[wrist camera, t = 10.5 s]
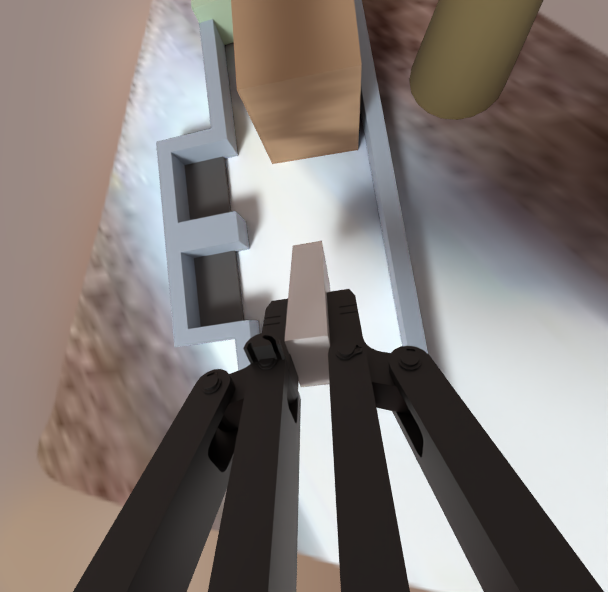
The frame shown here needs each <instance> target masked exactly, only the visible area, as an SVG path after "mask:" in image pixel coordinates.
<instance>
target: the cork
mask: <svg viewBox="0 0 608 592" xmlns="http://www.w3.org/2000/svg"><path fill="white" fill-rule="evenodd" d="M542 2H543V0H439V1H438V4H437V6H436V8H435V11H434V13H433V16H432V18H431V21H430V23H429V26H428V28H427V31H426V33H425V36H424V38H423V41H422V43H421V46H420V48H419V51H418V53H417V56H416V58H415V61H414V63H413V66H412V69H411V75H410V86H411V93H412V95H413V96H414V98H415V100H416V101H417V103H418V105H420V106H421V107H422V108H423V109H424V110H426V111H427V112H428V113H430V114H432V115H435V116H437V117H440V118H444V119H456V120H458V119H463V118H468V117H473V116H475V115H477V114H479V113H481V112H483V111H485V110H486V109H487V108H489V107H490V106H491V105H492V104H493V103H494V102H495V101H496V100H497V99H498V97H499V95H500V94H501V92H502V90H503V88H504V86H505V84H506V82H507V80H508V78H509V75H510V73H511V71H512V69H513V66H514V64H515V62H516V60H517V58H518V55H519V53H520V51H521V49H522V47H523V44H524V42H525V40H526V38H527V35H528V33H529V31H530V29H531V27H532V24H533V22H534V20H535V18H536V15H537V13H538V11H539V9H540V6H541V4H542Z"/></svg>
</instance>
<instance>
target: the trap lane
mask: <svg viewBox="0 0 608 592" xmlns="http://www.w3.org/2000/svg"><path fill="white" fill-rule="evenodd" d="M354 3H355V12H356V20H357V29H358V38H359V46H360V55H361V63H362V68H361V92H360V111H361V117H362V122H363V128H364V134H365V139H366V145H367V151H368V156H369V162H370V167H371V173H372V179H373V184H374V190H375V196H376V201H377V207H378V212H379V218H380V224H381V229H382V235H383V240H384V246H385V252H386V257H387V263H388V269H389V274H390V280H391V285H392V291H393V297H394V302H395V308H396V314H397V319H398V325H399V330H400V336H401V342H402V346H415V347H418V348H420V349H422V350H424V351H425V352H426V353H427V354H428V351H427V345H426V340H425V335H424V329H423V324H422V319H421V313H420V308H419V303H418V297H417V292H416V287H415V281H414V276H413V271H412V265H411V260H410V255H409V249H408V244H407V239H406V233H405V228H404V223H403V217H402V212H401V207H400V201H399V196H398V191H397V185H396V180H395V175H394V169H393V164H392V159H391V153H390V148H389V143H388V137H387V132H386V127H385V121H384V116H383V111H382V105H381V100H380V95H379V89H378V84H377V79H376V73H375V68H374V62H373V57H372V52H371V46H370V41H369V36H368V30H367V25H366V20H365V14H364V9H363V4H362V0H354ZM191 6H192V10H193V12H194V14H195V16H196V18H197V20H198V22H199V26H200V35H201V44H202V53H203V61H204V70H205V79H206V88H207V97H208V105H209V114H210V123H211V128H210V129H206V130H202V131H198V132H194V133H190V134H186V135H182V136H178V137H174V138H170V139H166V140H162V141H157V142H156V145H157V156H158V167H159V178H160V190H161V201H162V212H163V223H164V234H165V245H166V257H167V268H168V279H169V290H170V301H171V312H172V324H173V335H174V346H175V347H181V346H189V345H196V344H203V343H210V342H217V341H224V340H231V339H235V344H236V353H237V361H238V370H241V369H243V368H245V367H247V366H248V365H250V362H249V360H248V358H247V356H246V353H245V351H244V349H243V348H244V346H245V344H246V342H247V341H248V340H249V339H250V338H252V337H253V336H255V335H257V334H260V330H259V322H258V320H245V321H244V316H243V308H242V299H241V291H240V282H239V274H238V265H237V257H236V251H242V250H247V249H249V241H248V233H247V225H246V221H245V220H244V219H243V218H242V217H241V216H240V215H239V214H238V213H237V212H236V211H233V212H231V206H230V197H229V189H228V180H227V172H226V163H225V158H229V157H234V156H238V152H237V143H236V135H235V127H234V119H233V111H232V103H231V95H230V87H229V79H228V70H227V62H226V54H225V46H224V45H227V44H230V43H234V39H233V24H232V8H231V0H191Z"/></svg>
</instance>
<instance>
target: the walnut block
mask: <svg viewBox="0 0 608 592" xmlns="http://www.w3.org/2000/svg"><path fill="white" fill-rule="evenodd" d="M231 8H232V24H233V39H234V54H235V69H236V85H237V91H238V93H239V95H240V98H241V100H242V102H243V104H244V106H245V108H246V110H247V112H248V114H249V116H250V118H251V120H252V122H253V125H254V127H255V129H256V131H257V133H258V135H259V137H260V139H261V141H262V143H263V145H264V147H265V149H266V151H267V154H268V156H269V158H270V160H271V162H272V164H276V163H282V162H288V161H294V160H300V159H306V158H312V157H318V156H324V155H330V154H336V153H342V152H348V151H354V150H358V140H359V116H360V92H361V68H362V63H361V55H360V46H359V38H358V29H357V20H356V12H355V3H354V0H231Z"/></svg>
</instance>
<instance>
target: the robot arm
mask: <svg viewBox="0 0 608 592" xmlns="http://www.w3.org/2000/svg"><path fill="white" fill-rule="evenodd" d="M264 318H265V319H264V323H263V329H262V333H260V334H257V335H255V336H253V337H252V338H250V339H249V340H248V341H247V342H246V344H245V346H244V348H243V349H244V351H245V353H246V356H247V358H248V360H249V362H250V365H248V366H247V367H245V368H243V369H241V370H239V371H236V372H234V373H231V374H228V373H227V372H226V371H225V370H222V369H216V370H212V371H209V372H207V373H206V374H204V375H203V376H201V377H200V379H199V380H198V381H197V382H196V384H195V386H194V387H193V389H192V391H191V393H190V394H189V396H188V398H187V399H186V401H185V403H184V404H183V406H182V408H181V410H180V411H179V413H178V415H177V416H176V418H175V420H174V421H173V423H172V425H171V426H170V428H169V430H168V432H167V433H166V435H165V437H164V438H163V440H162V442H161V443H160V445H159V447H158V449H157V450H156V452H155V454H154V455H153V457H152V459H151V460H150V462H149V464H148V465H147V467H146V469H145V471H144V472H143V474H142V476H141V477H140V479H139V481H138V482H137V484H136V486H135V488H134V489H133V491H132V493H131V494H130V496H129V498H128V499H127V501H126V503H125V505H124V506H123V508H122V510H121V511H120V513H119V515H118V516H117V519H116V520H115V522H114V523H113V525H112V527H111V528H110V530H109V532H108V534H107V535H106V537H105V539H104V540H103V542H102V544H101V545H100V547H99V549H98V551H97V552H96V554H95V556H94V557H93V559H92V561H91V562H90V564H89V566H88V567H87V569H86V571H85V572H84V574H83V576H82V577H81V579H80V581H79V583H78V584H77V586H76V588H75V589H74V591H73V592H187V589H188V587H189V584H190V581H191V579H192V576H193V574H194V571H195V569H196V566H197V564H198V561H199V558H200V556H201V553H202V551H203V548H204V546H205V543H206V540H207V538H208V535H209V533H210V530H211V528H212V525H213V523H214V520H215V517H216V515H217V512H218V510H219V507H220V505H221V502H222V499H223V497H224V494H225V492H226V489H227V492H226V497H225V503H224V508H223V513H222V519H221V524H220V530H219V535H218V540H217V546H216V551H215V556H214V562H213V567H212V572H211V578H210V583H209V589H208V592H296V578H297V577H296V576H297V536H298V493H299V451H300V408H301V399H300V395H299V392H298V381H299V384H300V386H301V387H307V386H317V385H326V384H330V401H331V419H332V437H333V455H334V473H335V491H336V509H337V527H338V545H339V563H340V581H341V592H410V590H409V584H408V579H407V573H406V568H405V562H404V557H403V551H402V546H401V541H400V535H399V530H398V524H397V519H396V513H395V508H394V502H393V497H392V491H391V486H390V480H389V475H388V469H387V464H386V458H385V453H384V447H383V442H382V436H381V431H380V425H379V420H378V414H377V409H376V407H377V408H381V409H386V410H391V411H392V412H393V414H394V416H395V418H396V420H397V422H398V424H399V426H400V428H401V429H402V431H403V433H404V435H405V437H406V439H407V441H408V443H409V445H410V447H411V449H412V451H413V453H414V455H415V457H416V459H417V461H418V463H419V465H420V467H421V469H422V471H423V473H424V475H425V477H426V479H427V481H428V483H429V485H430V487H431V489H432V491H433V493H434V494H435V496H436V498H437V500H438V502H439V504H440V506H441V508H442V510H443V512H444V514H445V516H446V518H447V520H448V522H449V524H450V526H451V528H452V530H453V532H454V534H455V536H456V538H457V540H458V542H459V544H460V546H461V548H462V550H463V552H464V554H465V556H466V558H467V559H468V561H469V563H470V565H471V567H472V569H473V571H474V573H475V575H476V577H477V579H478V581H479V583H480V585H481V587H482V589H483V591H484V592H604V591H603V590H602V588H601V587H600V586H599V584H598V583H597V582H596V580H595V579H594V578H593V576H592V575H591V574H590V572H589V571H588V569H587V568H586V567H585V565H584V564H583V563H582V561H581V560H580V559H579V557H578V556H577V555H576V553H575V552H574V551H573V549H572V548H571V546H570V545H569V544H568V542H567V541H566V540H565V538H564V537H563V536H562V534H561V533H560V532H559V530H558V529H557V528H556V526H555V525H554V523H553V522H552V521H551V519H550V518H549V517H548V515H547V514H546V513H545V511H544V510H543V509H542V507H541V506H540V505H539V503H538V502H537V500H536V499H535V498H534V496H533V495H532V494H531V492H530V491H529V490H528V488H527V487H526V486H525V484H524V483H523V482H522V480H521V479H520V477H519V476H518V475H517V473H516V472H515V471H514V469H513V468H512V467H511V465H510V464H509V463H508V461H507V460H506V459H505V457H504V456H503V454H502V453H501V452H500V450H499V449H498V448H497V446H496V445H495V444H494V442H493V441H492V440H491V438H490V437H489V436H488V434H487V433H486V431H485V430H484V429H483V427H482V426H481V425H480V423H479V422H478V421H477V419H476V418H475V417H474V415H473V414H472V413H471V411H470V410H469V408H468V407H467V406H466V404H465V403H464V402H463V400H462V399H461V398H460V396H459V395H458V394H457V392H456V391H455V390H454V388H453V387H452V385H451V384H450V383H449V381H448V380H447V379H446V377H445V376H444V375H443V373H442V372H441V371H440V369H439V368H438V367H437V365H436V364H435V363H434V361H433V360H432V358H431V357H430V356H429V355H428V354H427V353H426V352H425V351H424V350H422V349H420V348H418V347H415V346H402V347H399V348H397V349H395V350H394V351H393V352H392V353H386V352H380V351H376V350H374V349H372V348H370V347H369V346H368V345H367V344H366V343H365V342H364V339H363V336H362V330H361V325H360V319H359V314H358V309H357V303H356V298H355V295H354V294H353V293H352V292H351V291H350V289H345V290H338V291H332V292H330V282H329V277H328V272H327V266H326V261H325V255H324V250H323V245H322V241H318V242H312V243H306V244H300V245H294V246H293V250H292V261H291V273H290V284H289V296H288V299H283V300H276V301H271V303H270V304H269V306H268V307H267V308H266V312H265V317H264Z"/></svg>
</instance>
